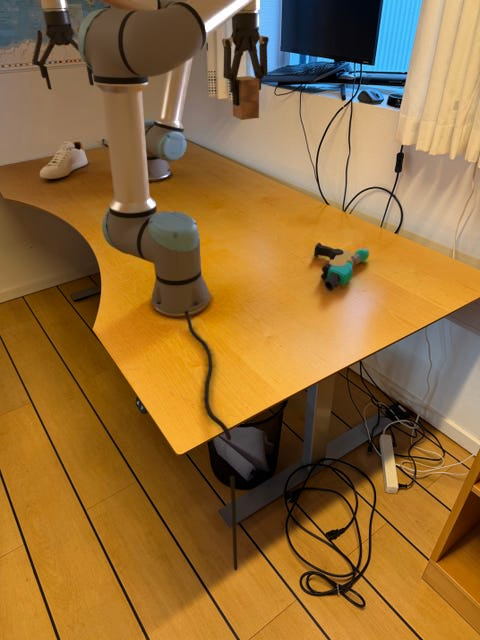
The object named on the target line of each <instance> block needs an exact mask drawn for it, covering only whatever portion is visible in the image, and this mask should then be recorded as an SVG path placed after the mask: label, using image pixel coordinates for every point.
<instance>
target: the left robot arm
mask: <svg viewBox="0 0 480 640" xmlns="http://www.w3.org/2000/svg"><path fill="white" fill-rule="evenodd" d="M98 1H100V2H101V3H103V4H106V5H108V6H111V7H112V8H114V9H122V10H159V9H164V8H167V7H169V6H171V5H172V4H174V3H175V2H178V1H179V0H178V1H177V0H98ZM40 4H41V9H43V10H44V11H43V12H42V14H43V18H44V23H45V24H44V25H45V30H41V29H36V31H35V33H36V41H35V46H34V49H33V54H32V59H31V63H32V64H33V65H34V66H38V67H39V70H40V76H41V77H42V79H45V82H46V86H47V89H48V90H49V91H50V90H52V85H51V80H50V75H49V71H48V68H47V65H45V64H46V62H47V60H48V58H49V56H50V54H51V53H52V51H53V49H54V48H55V46H58V47H61V46H69V45H71V46H72V47H73V48H74V49H75V50H76V51H77V52H79V49H78V42H76V41H75V40H74V35H75V34H76V36H77V37H78V32H79V28H80V26H78V27H77V28H73V26H72V21H71V16H70V12H69V10H68V9H69V5H68V1H67V0H40ZM45 36H47V37H48V38H49V41H48V43H47V45H46V48H45V49H44V51H43V53H42V55H41V57H40V52H41V48H42V43H43V39H45ZM39 58H40V59H39ZM193 59H194V56H193V57H192V58H191V59H189V60H188V61H186V62H185V63H183V64H182V65H180V66H178V67H177V68H175V69H173V70H171V71H169V72H167V73H165V77H164V84H163V90H162V95H161V103H160V108H159V114H158V117H156V118H144V127H145V140H146V154H147V168H148V181H149V183H157V182H162V181H166V180H168V179H170V178H171V177H172V169H171V167H170V165H169V163H173V162H176V161H179V160H180V159H181V158H182V157H183V156H184V154H185V152H186V150H187V140H186V138H185V136H184V131H185V127H184V125H183V123H182V120H183V115H184V109H185V103H186V98H187V91H188V87H189V81H190V75H191V69H192V64H193ZM85 66H86V71H87V78H88V82H89V83H88V84H89V85H90V86H95V83H94V78H93V70H92V69H90V68H89V67H88V66H87V65H86V64H85ZM101 142H102V145H103V146H106V147H109V146H108V143H105V138H102V139H101Z"/></svg>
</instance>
